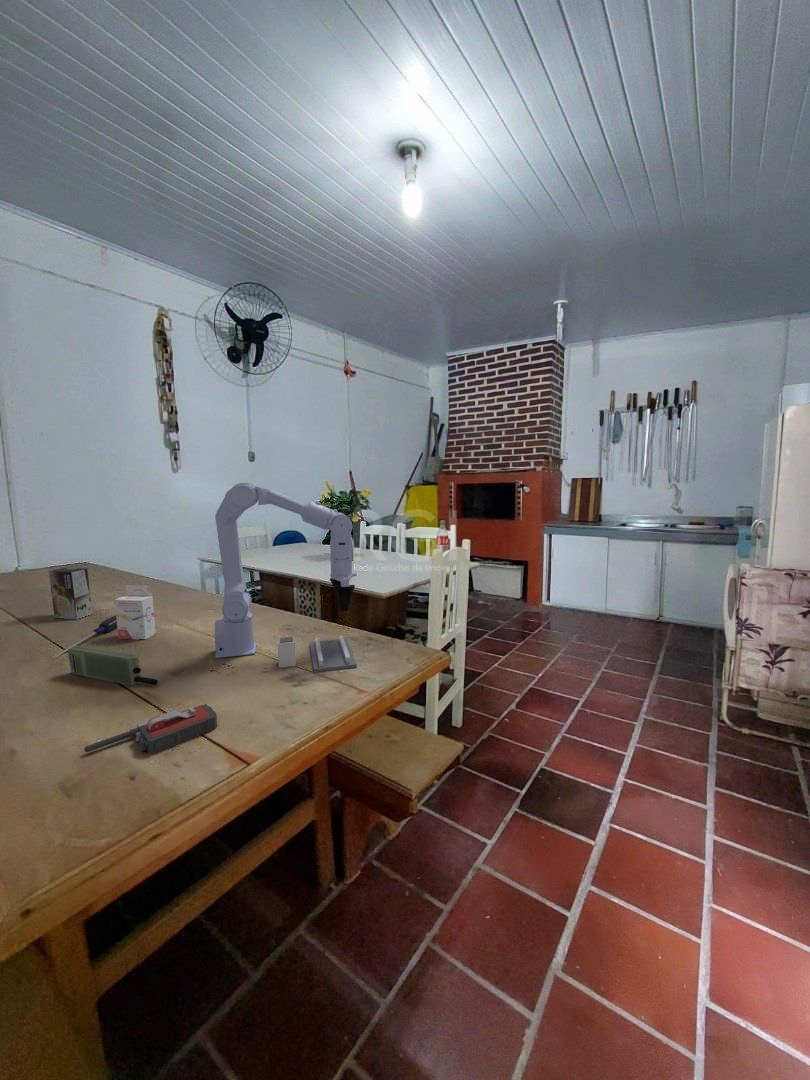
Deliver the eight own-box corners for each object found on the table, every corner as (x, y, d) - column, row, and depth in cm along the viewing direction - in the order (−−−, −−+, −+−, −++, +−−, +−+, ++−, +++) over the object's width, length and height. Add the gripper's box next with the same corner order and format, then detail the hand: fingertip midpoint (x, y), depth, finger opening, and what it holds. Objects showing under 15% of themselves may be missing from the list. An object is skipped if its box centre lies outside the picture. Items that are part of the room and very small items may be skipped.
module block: (278, 667, 107) (277, 643, 106) (278, 661, 111) (277, 637, 110) (295, 666, 108) (294, 641, 107) (295, 659, 112) (294, 635, 111)
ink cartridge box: (117, 639, 127) (112, 589, 125) (129, 633, 132) (124, 584, 130) (145, 640, 126) (140, 589, 124) (156, 634, 131) (152, 585, 129)
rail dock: (313, 672, 104) (313, 662, 104) (309, 645, 121) (309, 637, 121) (356, 667, 107) (356, 658, 106) (346, 641, 124) (346, 633, 124)
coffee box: (93, 614, 152) (88, 567, 150) (77, 620, 145) (71, 571, 143) (70, 613, 153) (65, 567, 151) (53, 618, 147) (47, 571, 145)
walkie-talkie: (206, 710, 88) (83, 754, 74) (205, 689, 87) (81, 729, 73) (225, 728, 82) (94, 779, 68) (224, 705, 81) (92, 752, 67)
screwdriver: (61, 658, 114) (59, 644, 114) (47, 658, 114) (45, 644, 114) (126, 625, 140) (125, 614, 139) (115, 625, 140) (113, 614, 140)
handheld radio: (83, 670, 107) (163, 684, 99) (69, 676, 104) (150, 691, 96) (79, 643, 106) (159, 656, 98) (64, 649, 103) (147, 662, 95)
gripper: (360, 561, 115) (361, 612, 117) (351, 553, 129) (353, 598, 131) (332, 563, 113) (334, 615, 115) (327, 554, 127) (328, 600, 129)
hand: (342, 606), depth 123 cm, fingers open, 7 cm apart
